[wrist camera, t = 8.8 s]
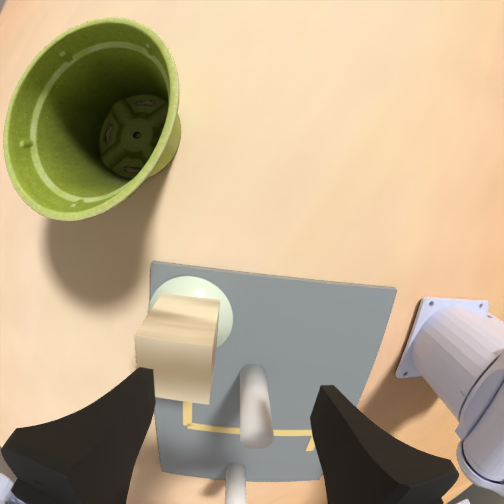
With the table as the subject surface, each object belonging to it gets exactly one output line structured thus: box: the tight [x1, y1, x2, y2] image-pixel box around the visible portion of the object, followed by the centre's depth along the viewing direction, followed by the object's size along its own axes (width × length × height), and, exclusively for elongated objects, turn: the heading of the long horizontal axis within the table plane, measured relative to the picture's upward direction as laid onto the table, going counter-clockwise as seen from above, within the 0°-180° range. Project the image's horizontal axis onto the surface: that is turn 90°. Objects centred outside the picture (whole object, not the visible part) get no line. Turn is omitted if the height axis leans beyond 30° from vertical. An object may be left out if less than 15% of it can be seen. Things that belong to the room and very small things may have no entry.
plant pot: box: [3, 17, 181, 221], centre depth 14 cm, size 9×9×9 cm
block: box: [134, 293, 220, 405], centre depth 17 cm, size 4×4×6 cm
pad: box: [149, 275, 233, 348], centre depth 20 cm, size 6×6×1 cm
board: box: [150, 261, 397, 504], centre depth 20 cm, size 18×24×8 cm
